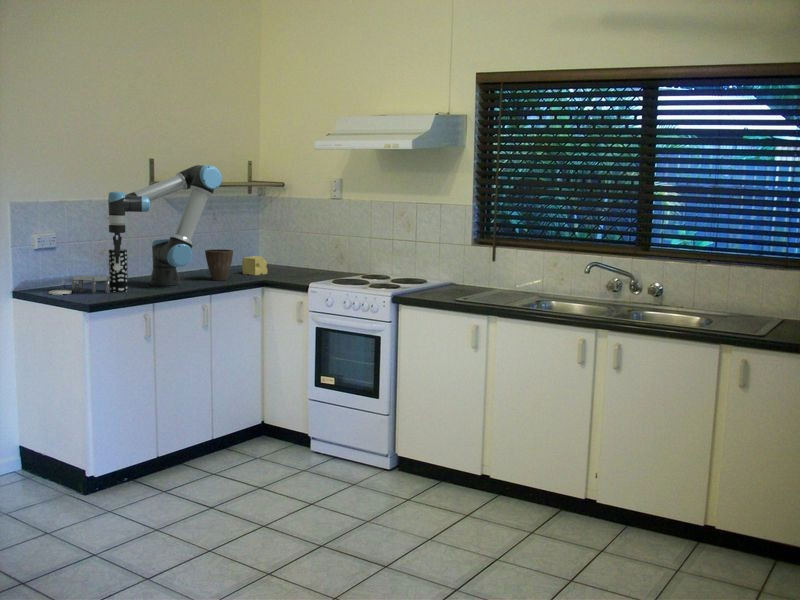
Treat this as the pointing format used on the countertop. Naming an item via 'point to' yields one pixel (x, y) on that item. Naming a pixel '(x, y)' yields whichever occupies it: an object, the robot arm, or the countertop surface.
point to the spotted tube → (118, 272)
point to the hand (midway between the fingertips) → (117, 268)
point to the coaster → (60, 292)
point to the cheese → (254, 265)
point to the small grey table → (93, 279)
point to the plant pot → (219, 263)
